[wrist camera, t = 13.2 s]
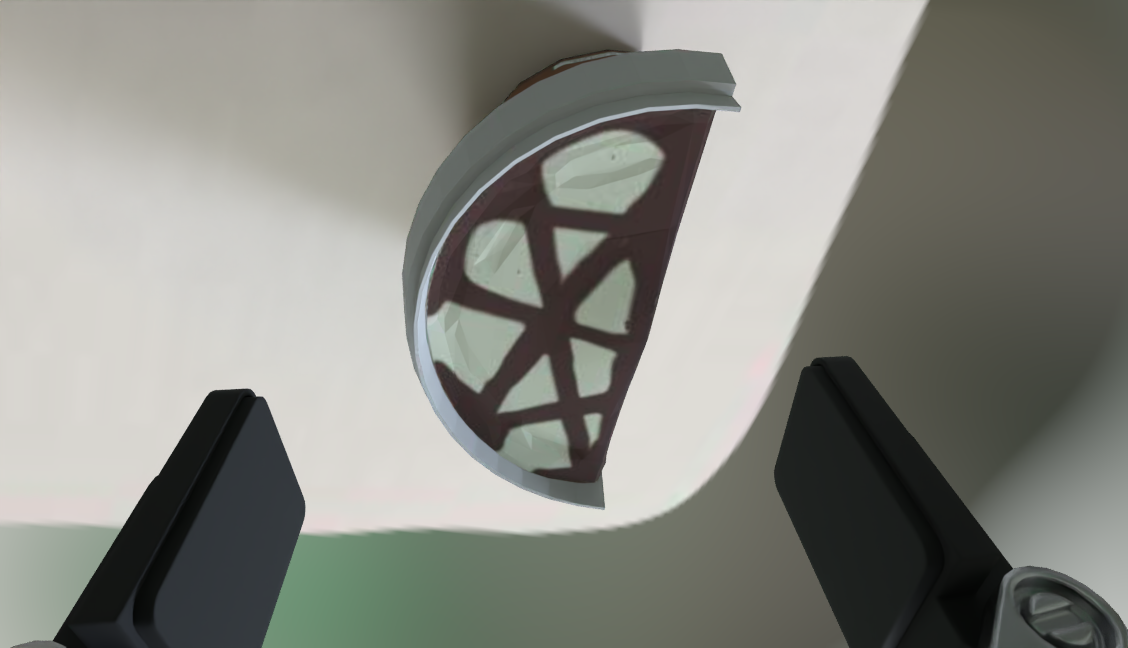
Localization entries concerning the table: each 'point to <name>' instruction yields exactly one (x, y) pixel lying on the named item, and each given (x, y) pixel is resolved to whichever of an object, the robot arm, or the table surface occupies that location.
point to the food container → (555, 258)
